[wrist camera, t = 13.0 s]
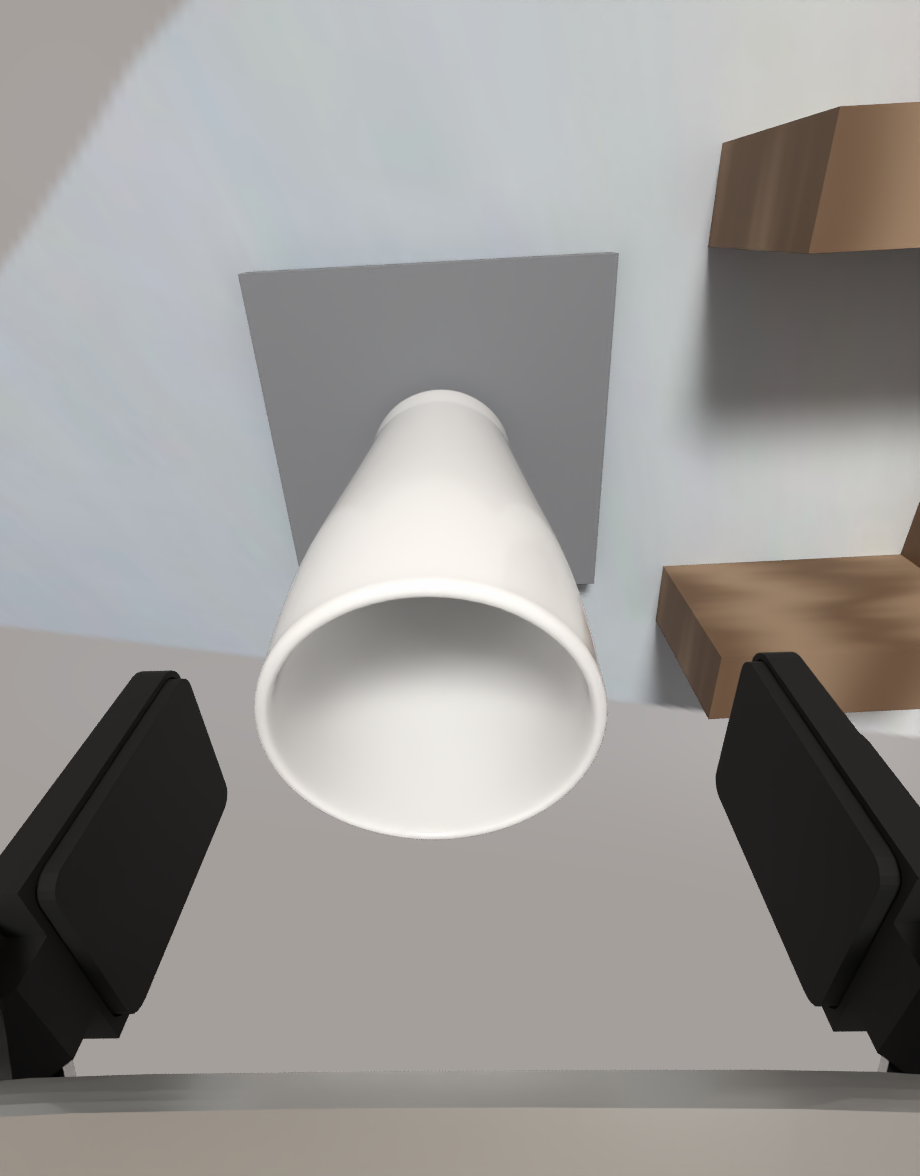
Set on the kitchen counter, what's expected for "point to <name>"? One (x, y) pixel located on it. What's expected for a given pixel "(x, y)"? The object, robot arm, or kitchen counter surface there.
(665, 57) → the kitchen counter surface
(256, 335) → the slate board
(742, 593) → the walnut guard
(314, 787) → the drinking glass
